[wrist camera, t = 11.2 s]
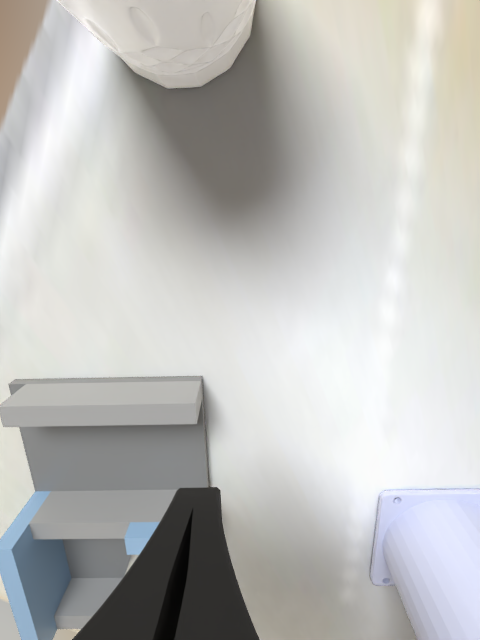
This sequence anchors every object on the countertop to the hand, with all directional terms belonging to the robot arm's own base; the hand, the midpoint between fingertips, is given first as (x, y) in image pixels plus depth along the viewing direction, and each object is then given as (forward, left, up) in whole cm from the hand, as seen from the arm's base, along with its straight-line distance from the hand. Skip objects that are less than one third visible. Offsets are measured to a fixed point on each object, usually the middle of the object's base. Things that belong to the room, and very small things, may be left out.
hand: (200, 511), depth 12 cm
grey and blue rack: (+6, +8, -9) cm, 14 cm away
